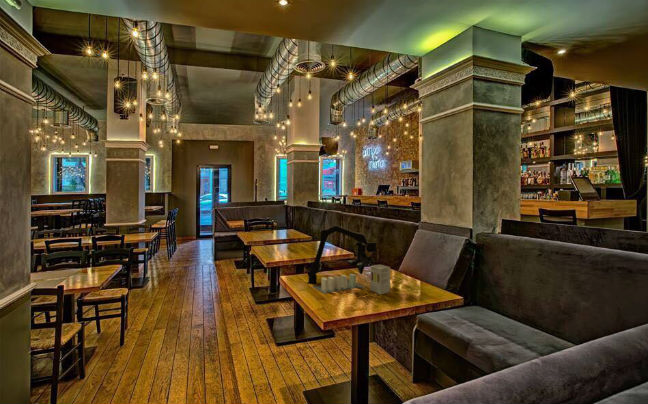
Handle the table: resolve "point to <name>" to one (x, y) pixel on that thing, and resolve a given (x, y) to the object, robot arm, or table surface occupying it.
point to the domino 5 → (352, 280)
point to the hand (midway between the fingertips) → (360, 274)
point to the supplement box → (380, 279)
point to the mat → (337, 289)
